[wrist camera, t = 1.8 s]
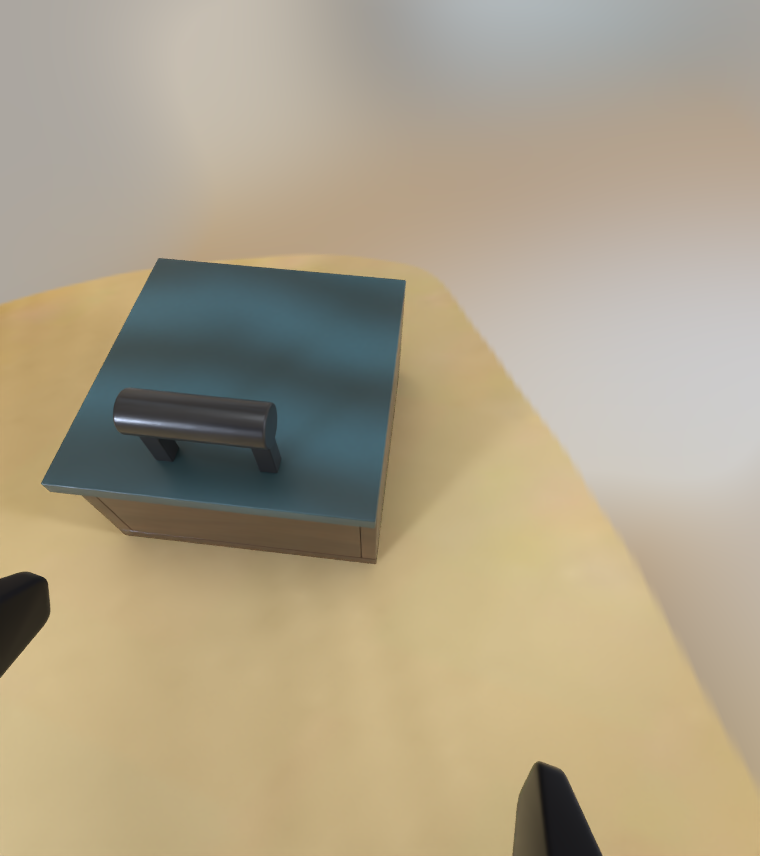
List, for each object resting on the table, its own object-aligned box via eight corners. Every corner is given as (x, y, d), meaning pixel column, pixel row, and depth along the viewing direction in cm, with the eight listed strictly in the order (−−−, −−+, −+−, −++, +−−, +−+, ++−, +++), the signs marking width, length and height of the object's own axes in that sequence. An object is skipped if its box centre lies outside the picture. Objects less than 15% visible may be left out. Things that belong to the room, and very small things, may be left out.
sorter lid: (375, 529, 19) (376, 475, 15) (50, 492, 19) (-24, 431, 16) (405, 291, 26) (410, 214, 22) (163, 268, 26) (129, 190, 22)
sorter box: (376, 564, 25) (377, 511, 19) (125, 534, 25) (58, 476, 20) (399, 371, 31) (405, 291, 26) (198, 351, 31) (163, 269, 26)
